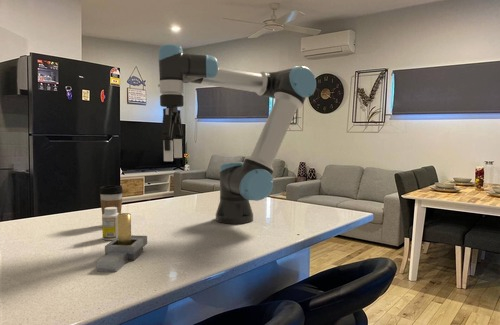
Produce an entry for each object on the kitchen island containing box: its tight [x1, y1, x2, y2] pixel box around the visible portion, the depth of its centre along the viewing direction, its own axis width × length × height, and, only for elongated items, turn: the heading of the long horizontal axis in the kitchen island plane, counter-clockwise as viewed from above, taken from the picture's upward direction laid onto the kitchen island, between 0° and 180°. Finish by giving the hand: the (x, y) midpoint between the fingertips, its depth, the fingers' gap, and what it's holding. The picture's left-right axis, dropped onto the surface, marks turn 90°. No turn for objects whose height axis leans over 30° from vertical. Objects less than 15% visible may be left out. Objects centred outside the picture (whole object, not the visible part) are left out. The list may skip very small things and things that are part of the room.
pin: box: [117, 212, 132, 245], centre depth 108 cm, size 4×4×12 cm
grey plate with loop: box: [96, 234, 148, 273], centre depth 108 cm, size 24×8×4 cm, turn 177°
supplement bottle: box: [101, 207, 119, 241], centre depth 126 cm, size 6×6×10 cm
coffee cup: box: [98, 184, 124, 215], centre depth 143 cm, size 8×8×15 cm
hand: (173, 159), depth 126 cm, fingers open, 13 cm apart
